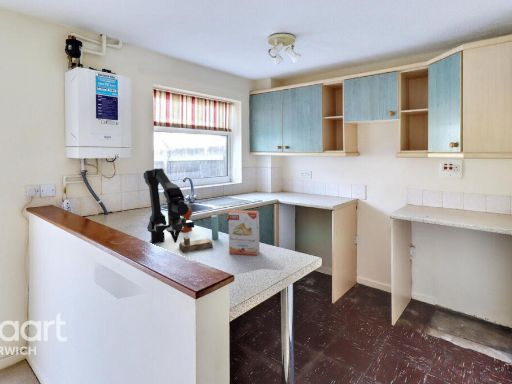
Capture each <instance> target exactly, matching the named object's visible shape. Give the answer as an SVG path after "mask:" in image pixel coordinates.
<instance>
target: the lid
mask: <svg viewBox="0 0 512 384" xmlns="http://www.w3.org/2000/svg"><path fill="white" fill-rule="evenodd" d="M179 243H180V244H181V245H182V246H183V247H188V246H195V245H201V244H208V243H212V244H213V243H214V242H213V241H212V240H211V239H210V238H201V239H194V240H191V239H190V237H189V236H183V241H180V242H179Z"/></svg>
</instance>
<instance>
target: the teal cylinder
mask: <svg viewBox="0 0 512 384" xmlns="http://www.w3.org/2000/svg"><path fill="white" fill-rule="evenodd" d="M210 217H211V220H210V221H211V239H212V240H213V239H214V240H215V239H216V240H219V220H218V218H219V215H211V216H210ZM214 240H213V241H214Z"/></svg>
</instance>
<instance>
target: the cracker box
mask: <svg viewBox="0 0 512 384" xmlns="http://www.w3.org/2000/svg"><path fill="white" fill-rule="evenodd" d="M227 213H228V247H229V248H228V250H229V251H228V253H229V254H230V255H242V256H244V255H246V256H258V255H259V253H260V211H259V210H245V209H244V210H240V209H231V210H230V211H228V212H227Z"/></svg>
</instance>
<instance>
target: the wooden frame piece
mask: <svg viewBox="0 0 512 384" xmlns="http://www.w3.org/2000/svg"><path fill="white" fill-rule="evenodd" d="M213 246H214V245H213V243H208V244H201V245H195V246H188V247H183V246H182V245H181V244H180V242H178V248H179V249H180V251H182V253H189V252H196V251H203V250H208V249H214V248H213Z"/></svg>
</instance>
